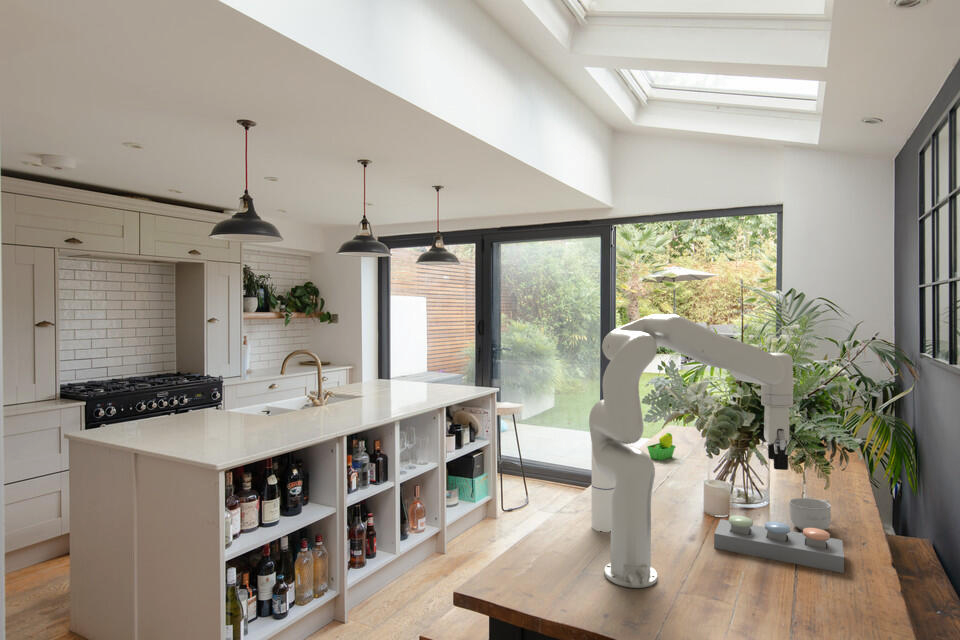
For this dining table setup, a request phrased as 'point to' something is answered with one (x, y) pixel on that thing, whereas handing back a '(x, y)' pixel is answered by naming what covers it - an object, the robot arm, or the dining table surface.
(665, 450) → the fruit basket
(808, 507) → the teacup
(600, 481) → the cylindrical container
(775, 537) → the button slate
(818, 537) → the button terracotta
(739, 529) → the button sage
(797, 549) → the button panel
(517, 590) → the dining table surface
